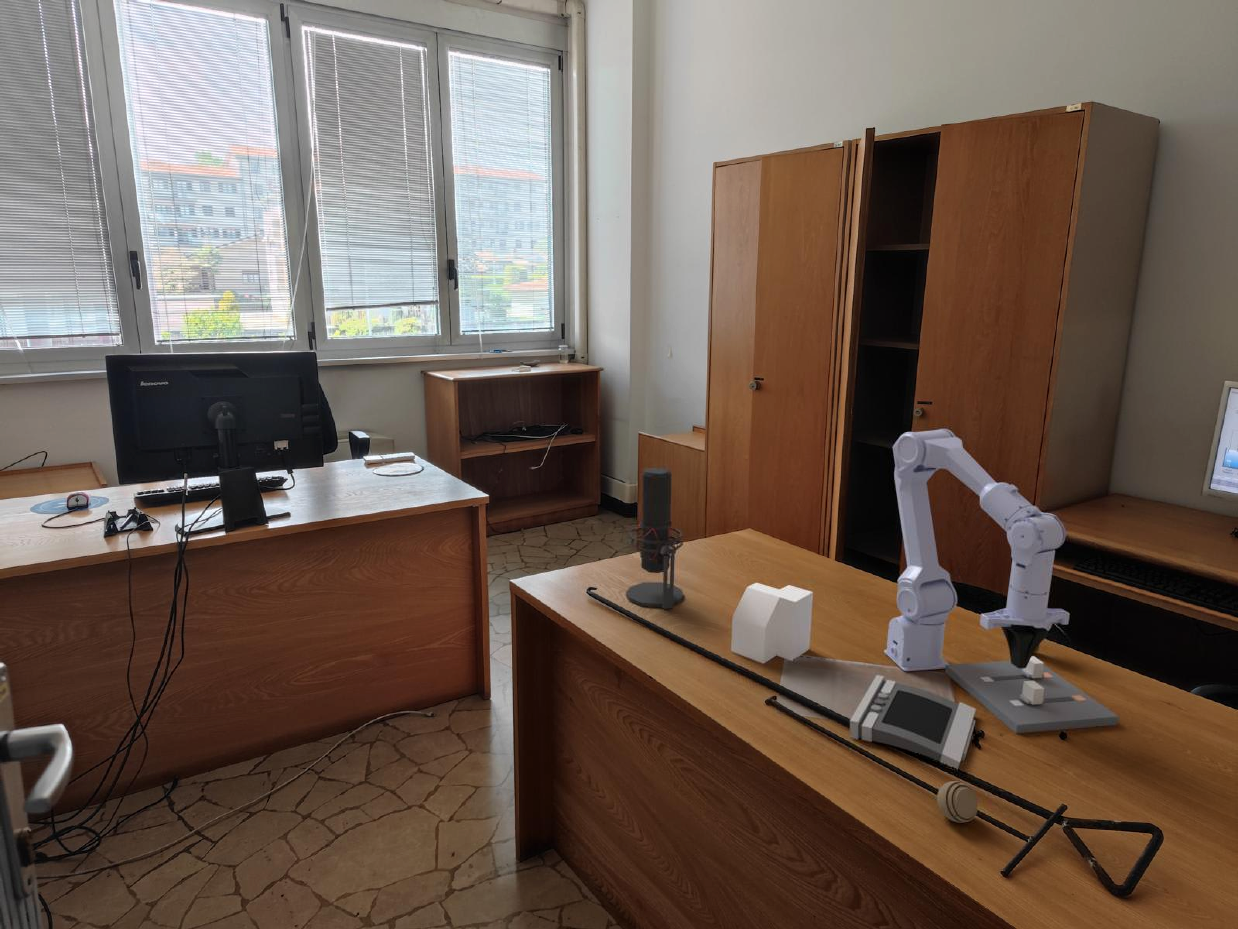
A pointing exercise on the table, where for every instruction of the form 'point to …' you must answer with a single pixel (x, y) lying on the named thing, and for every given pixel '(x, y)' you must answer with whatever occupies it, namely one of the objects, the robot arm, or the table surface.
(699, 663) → the table surface
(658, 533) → the microphone
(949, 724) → the alarm clock
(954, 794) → the door knob
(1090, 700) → the panel
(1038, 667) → the breaker on
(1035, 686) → the breaker
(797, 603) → the white chamfered block
